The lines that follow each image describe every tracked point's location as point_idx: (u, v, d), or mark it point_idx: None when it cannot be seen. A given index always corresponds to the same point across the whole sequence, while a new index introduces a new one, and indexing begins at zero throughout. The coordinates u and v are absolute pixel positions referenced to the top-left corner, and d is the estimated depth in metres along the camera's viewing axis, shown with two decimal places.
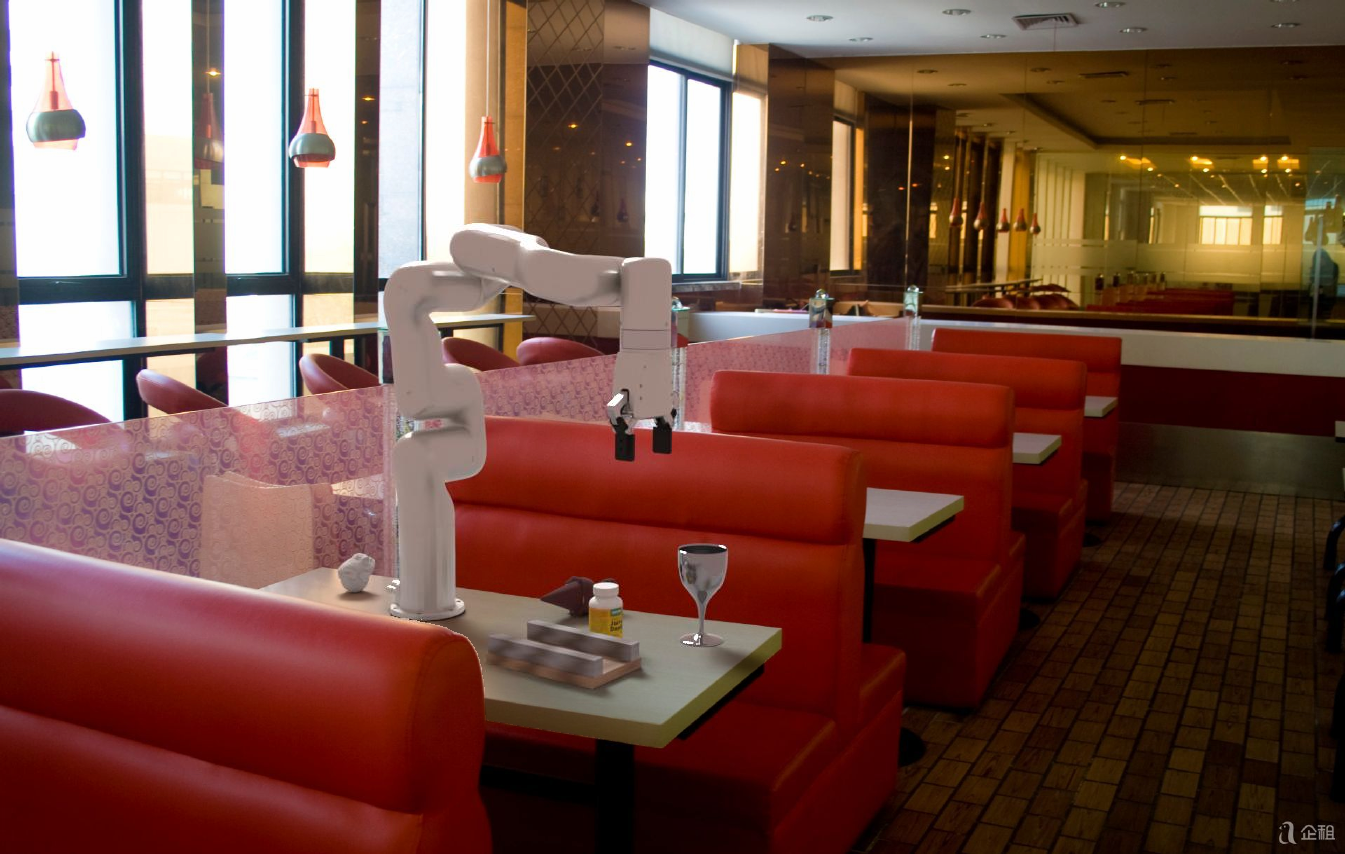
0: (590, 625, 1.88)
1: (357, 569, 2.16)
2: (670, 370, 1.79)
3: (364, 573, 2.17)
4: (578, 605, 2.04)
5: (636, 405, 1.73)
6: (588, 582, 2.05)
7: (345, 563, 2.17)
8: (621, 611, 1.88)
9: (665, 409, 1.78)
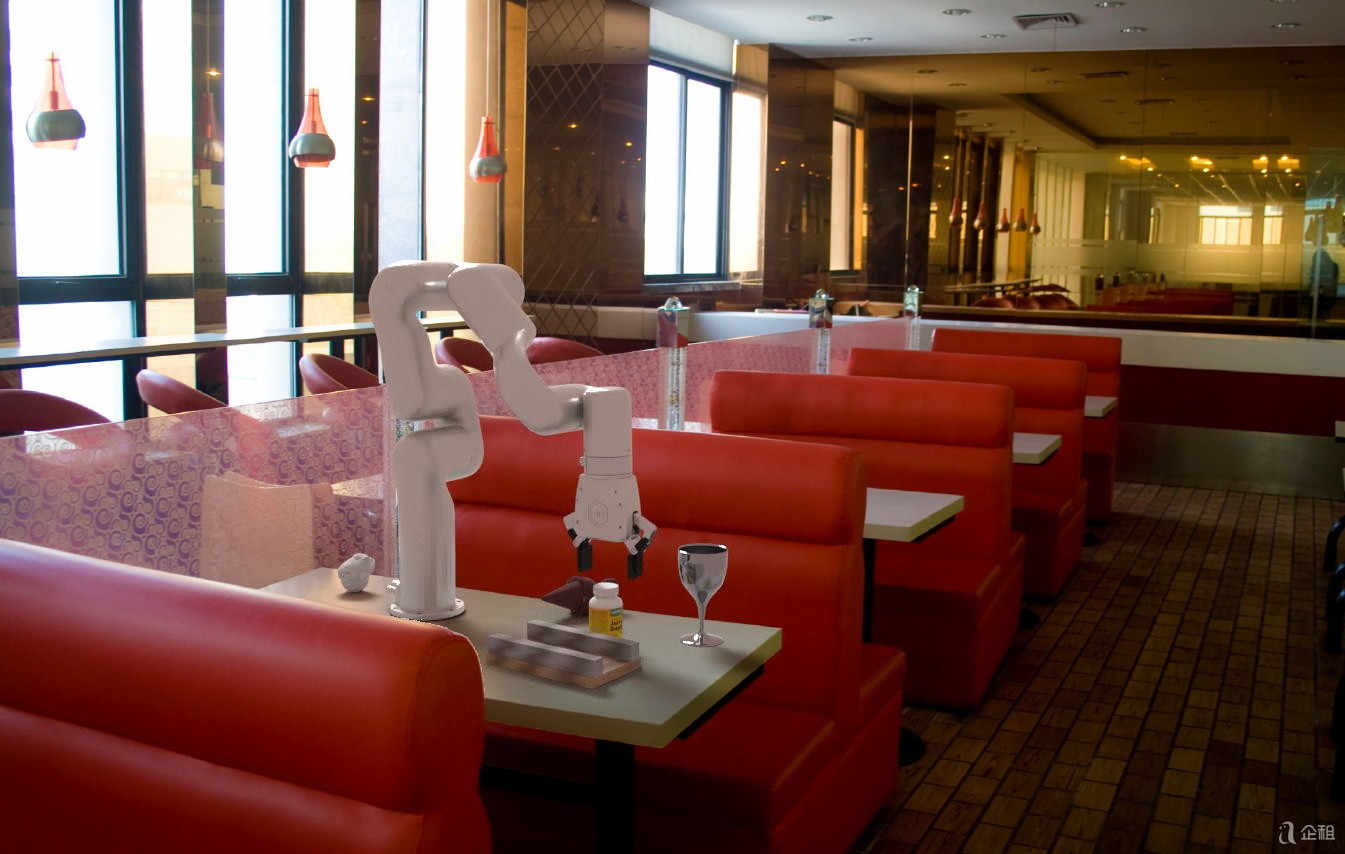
0: (590, 625, 1.88)
1: (357, 569, 2.16)
2: None
3: (364, 573, 2.17)
4: (579, 605, 2.04)
5: None
6: (589, 582, 2.05)
7: (345, 563, 2.17)
8: (621, 611, 1.88)
9: None
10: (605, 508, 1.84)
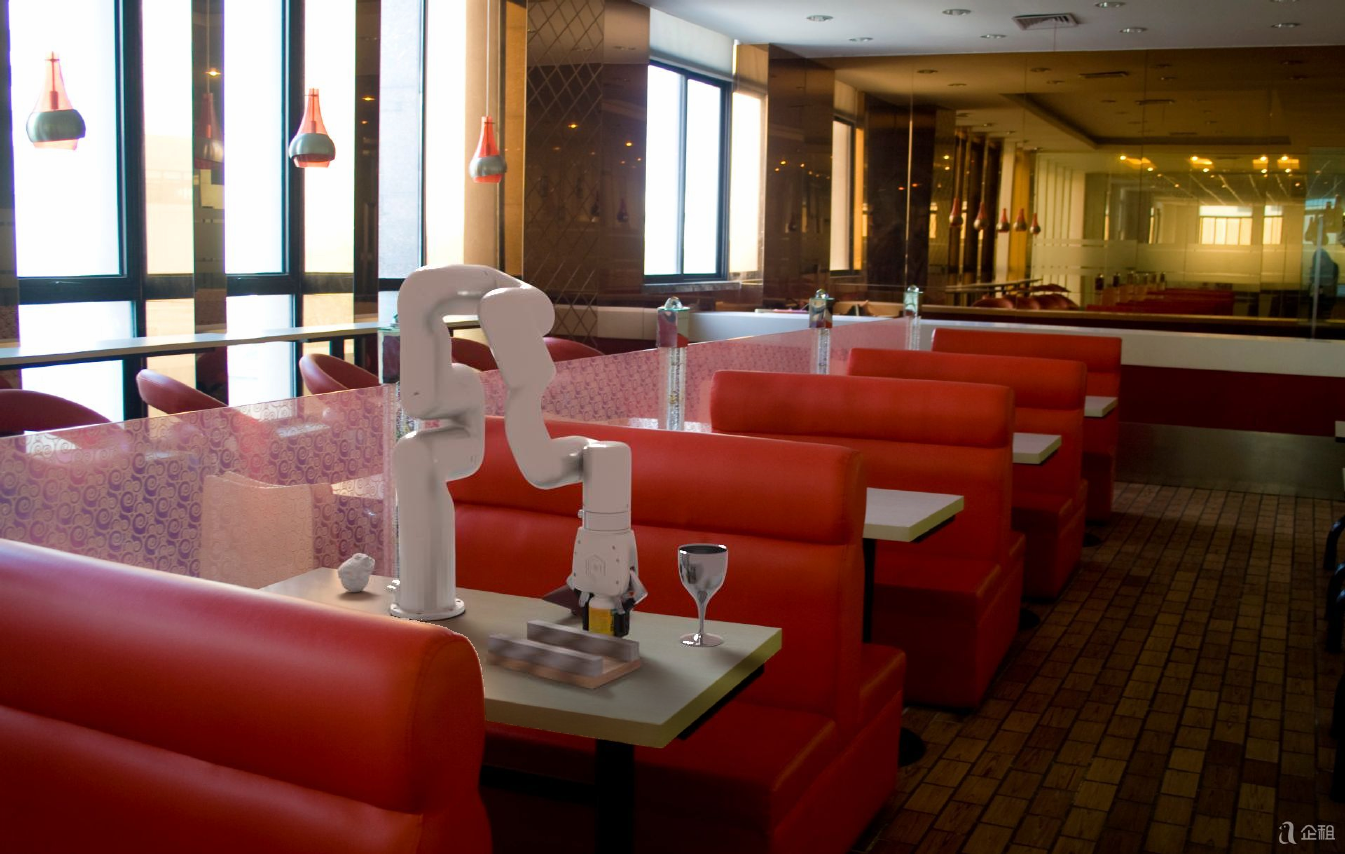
0: (590, 625, 1.88)
1: (357, 569, 2.16)
2: None
3: (364, 573, 2.17)
4: None
5: None
6: None
7: (345, 563, 2.17)
8: None
9: None
10: (602, 563, 1.85)
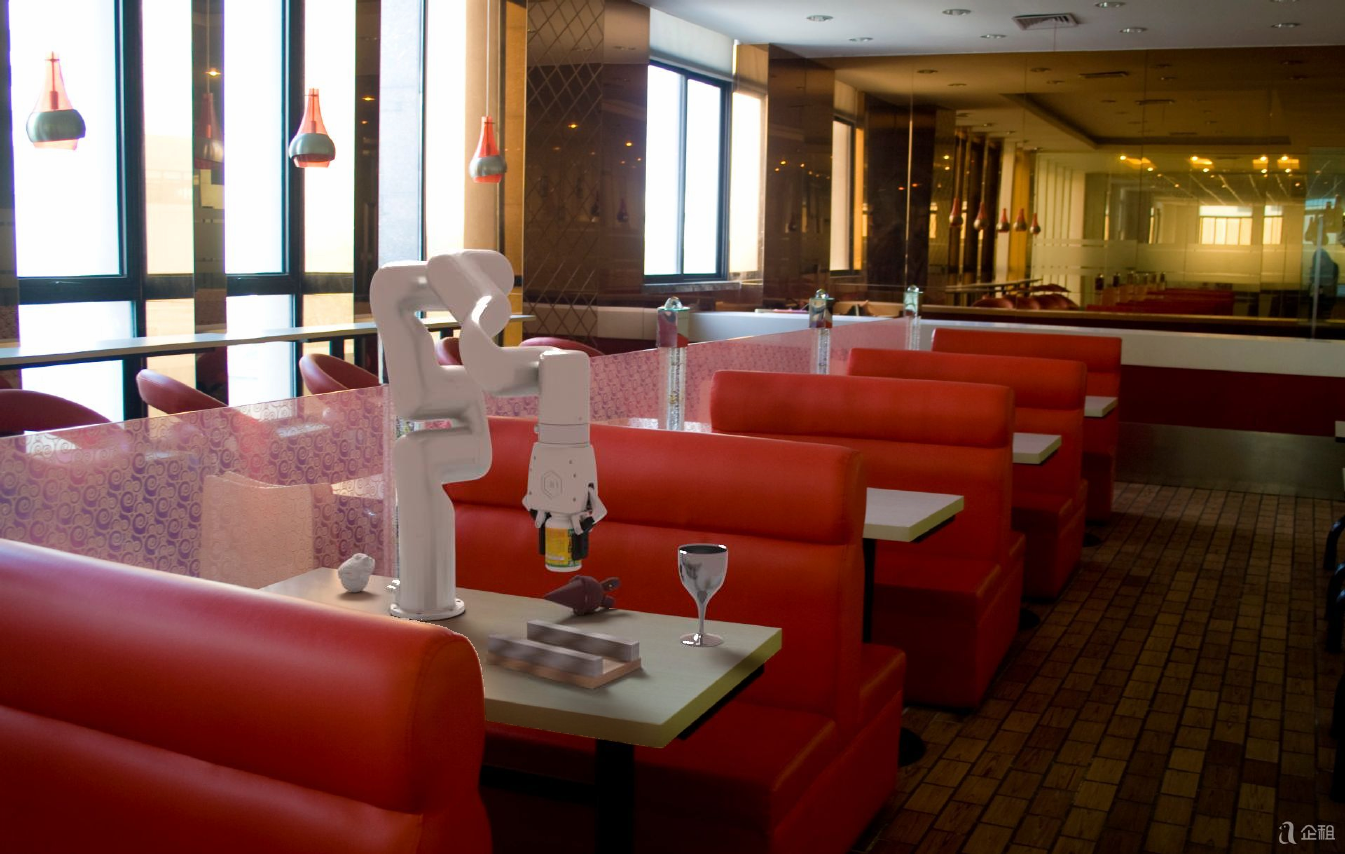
0: (546, 547, 1.76)
1: (357, 569, 2.16)
2: None
3: (364, 573, 2.17)
4: (581, 604, 2.05)
5: (597, 496, 1.75)
6: (591, 581, 2.06)
7: (345, 563, 2.17)
8: None
9: None
10: (559, 479, 1.73)
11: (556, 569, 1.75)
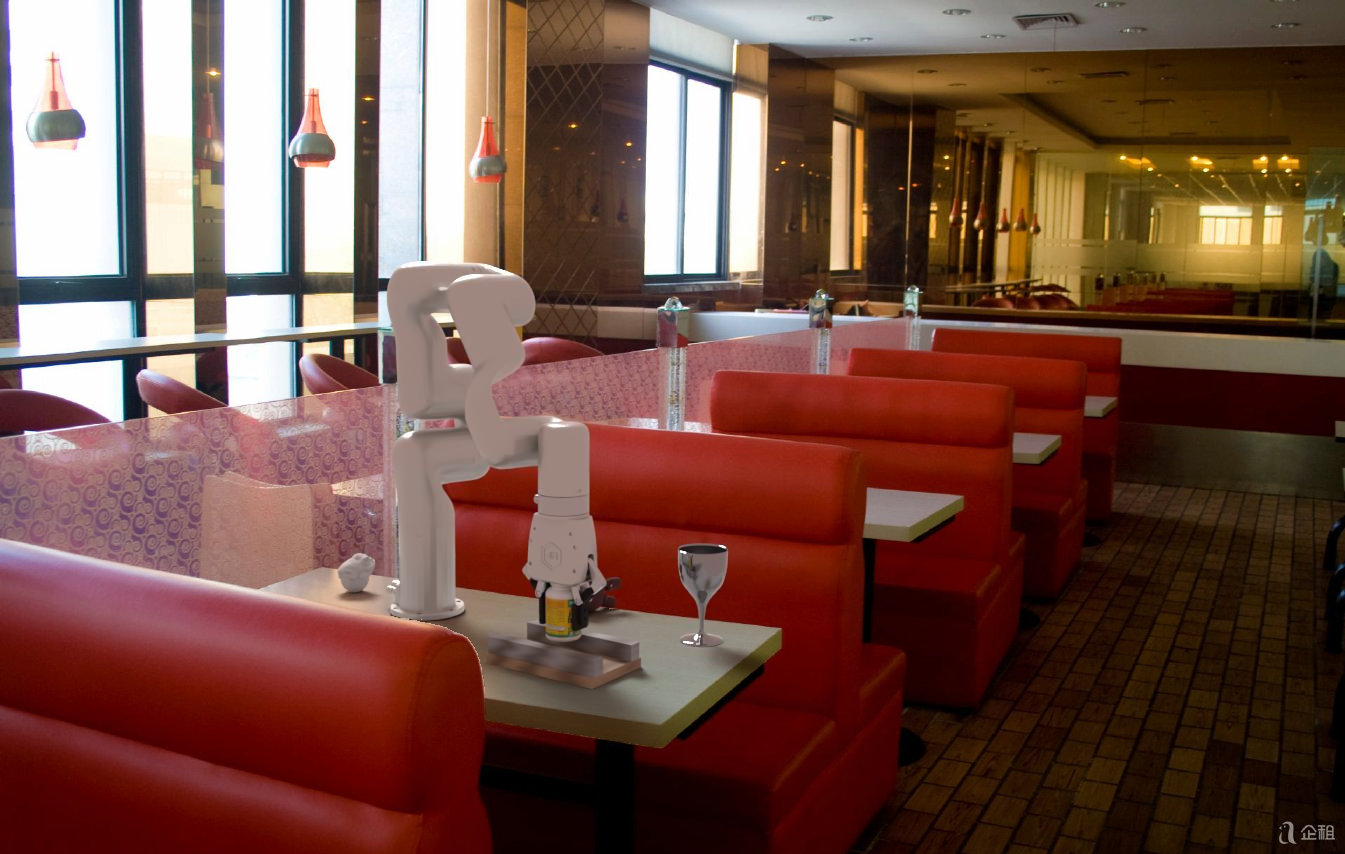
0: (547, 617, 1.77)
1: (357, 569, 2.16)
2: None
3: (364, 573, 2.17)
4: None
5: None
6: None
7: (345, 563, 2.17)
8: None
9: None
10: (559, 551, 1.74)
11: (556, 639, 1.76)
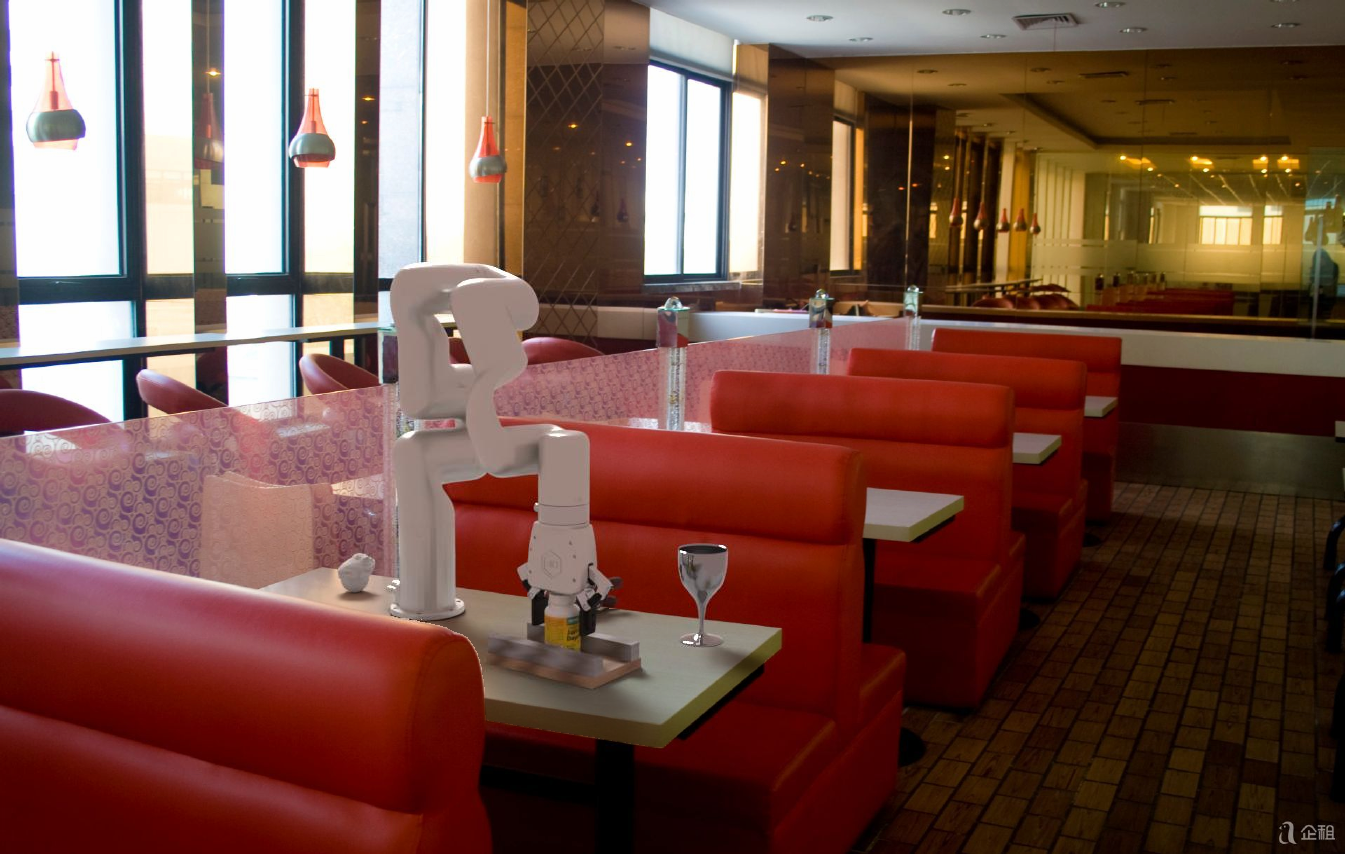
0: (546, 634, 1.77)
1: (357, 569, 2.16)
2: None
3: (364, 573, 2.17)
4: None
5: None
6: None
7: (345, 563, 2.17)
8: (578, 619, 1.78)
9: None
10: (559, 560, 1.74)
11: None
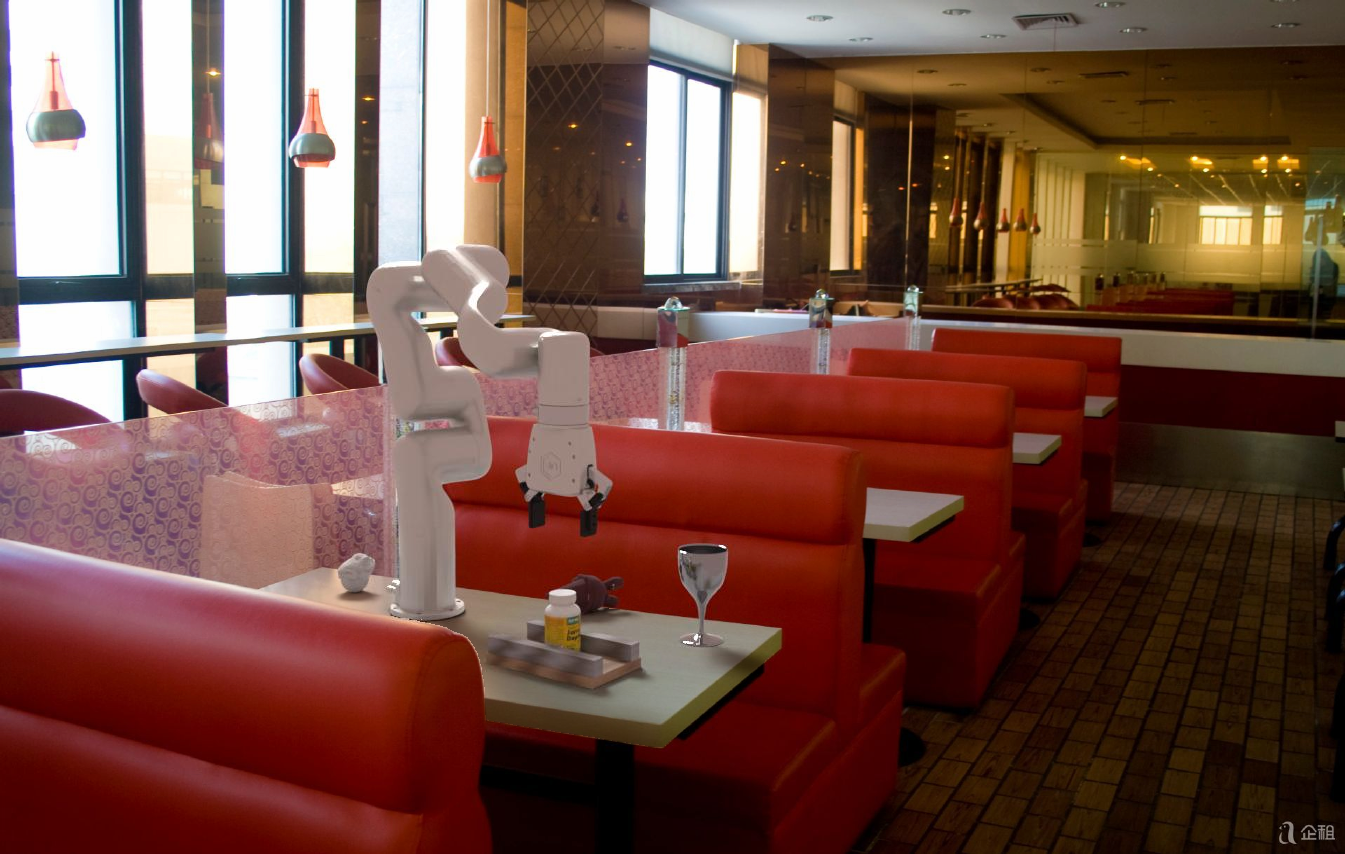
0: (546, 634, 1.78)
1: (357, 569, 2.16)
2: None
3: (364, 573, 2.17)
4: (583, 603, 2.05)
5: None
6: (594, 580, 2.07)
7: (345, 563, 2.17)
8: (579, 619, 1.78)
9: None
10: (558, 461, 1.73)
11: None
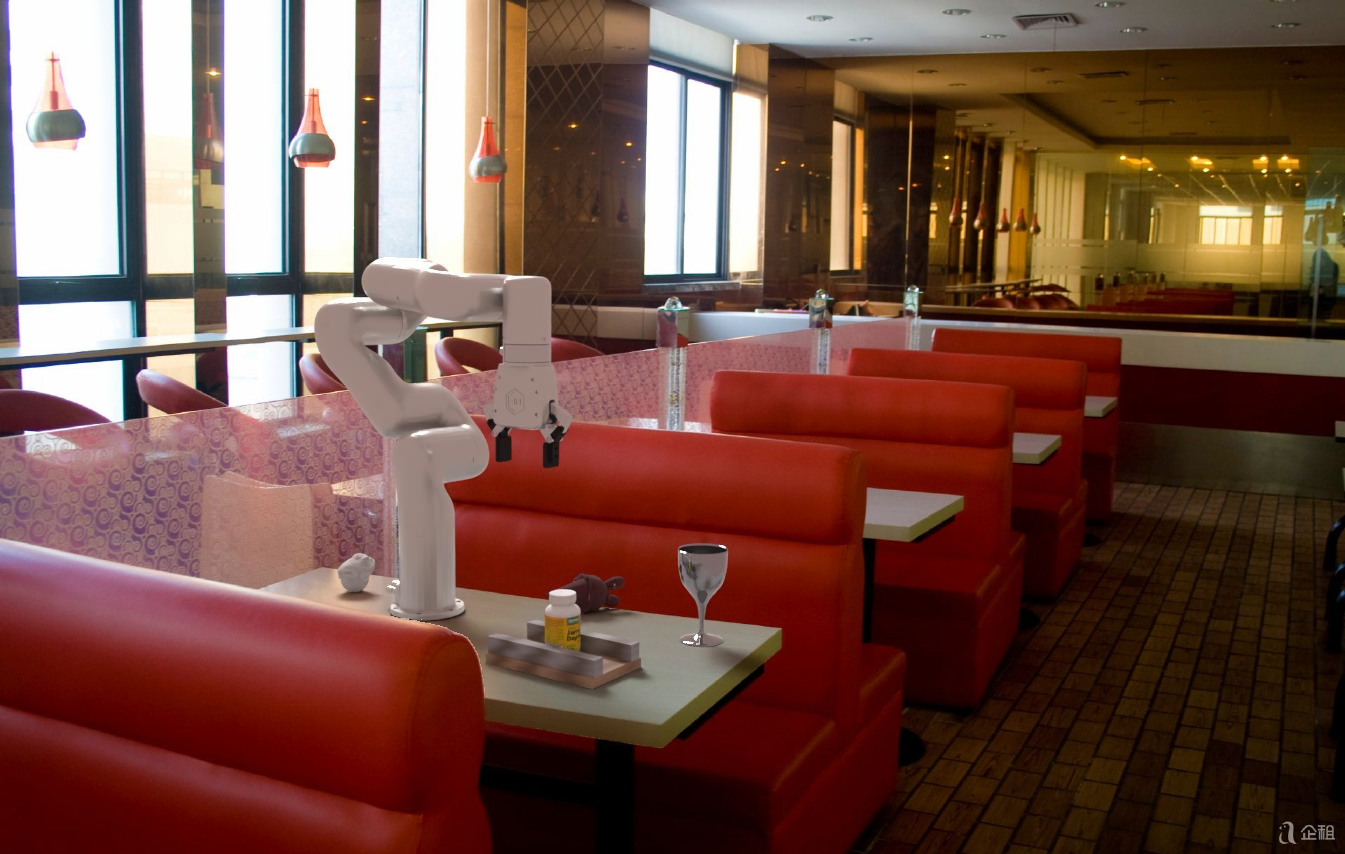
0: (546, 634, 1.77)
1: (357, 569, 2.16)
2: None
3: (364, 573, 2.17)
4: (584, 602, 2.06)
5: None
6: (595, 580, 2.07)
7: (345, 563, 2.17)
8: (579, 620, 1.78)
9: None
10: (522, 396, 1.84)
11: None
